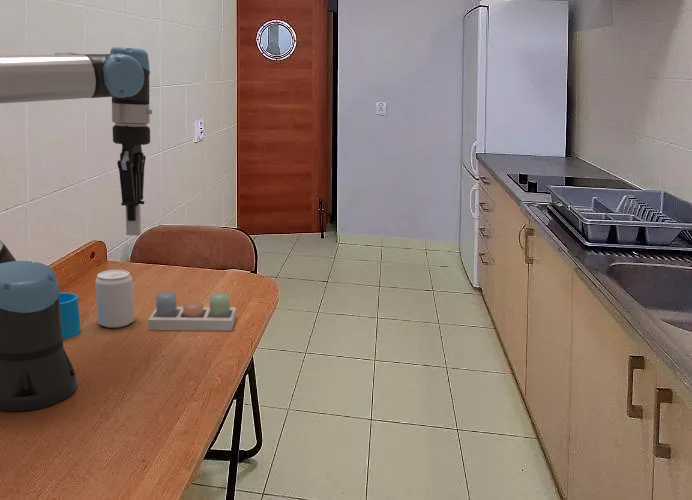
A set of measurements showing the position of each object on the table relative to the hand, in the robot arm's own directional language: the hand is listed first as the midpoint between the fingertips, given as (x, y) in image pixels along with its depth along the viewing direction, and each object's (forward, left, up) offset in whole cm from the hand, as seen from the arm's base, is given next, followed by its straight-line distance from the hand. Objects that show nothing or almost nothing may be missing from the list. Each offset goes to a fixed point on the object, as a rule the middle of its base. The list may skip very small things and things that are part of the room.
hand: (133, 234), depth 143 cm
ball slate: (+8, -1, -20) cm, 21 cm away
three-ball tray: (+11, -7, -23) cm, 26 cm away
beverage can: (+2, +9, -23) cm, 25 cm away
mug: (-7, +16, -23) cm, 29 cm away
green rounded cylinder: (+14, -12, -20) cm, 27 cm away
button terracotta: (+11, -7, -22) cm, 26 cm away
